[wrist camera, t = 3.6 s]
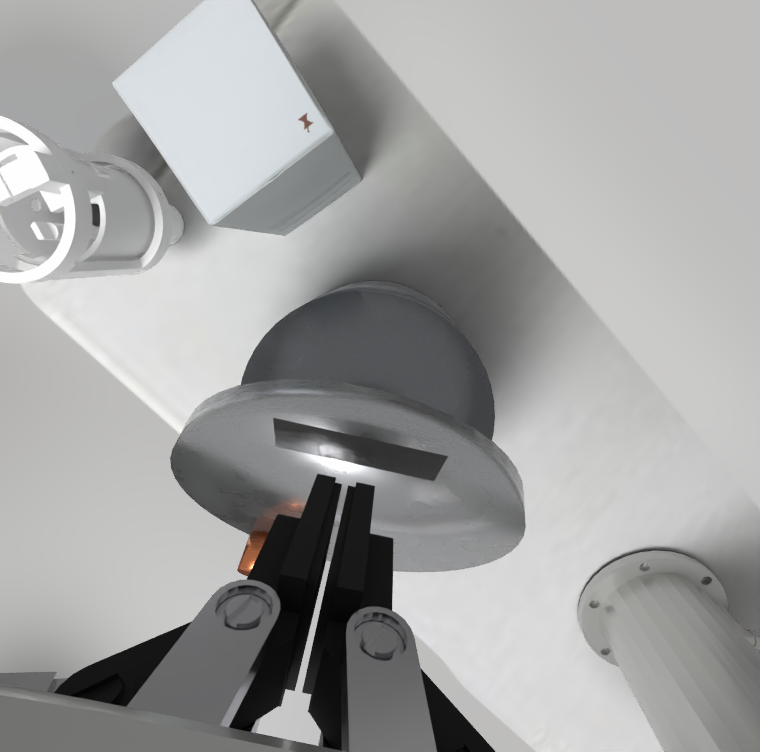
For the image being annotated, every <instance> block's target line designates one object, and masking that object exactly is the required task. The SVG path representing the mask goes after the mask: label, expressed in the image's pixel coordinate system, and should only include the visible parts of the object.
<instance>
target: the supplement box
mask: <svg viewBox="0 0 760 752" xmlns="http://www.w3.org/2000/svg"><path fill="white" fill-rule="evenodd" d="M112 85H113V86H114V88H115V89H116V90H117V92H118V93H119V94H120V96H121V97H122V99H123V100H124V102H125V103H126V105H127V106H128V107H129V109H130V110H131V112H132V113H133V114H134V116H135V117H136V119H137V120H138V121H139V123H140V124H141V126H142V127H143V129H144V130H145V131H146V133H147V134H148V136H149V137H150V139H151V140H152V142H153V143H154V145H155V146H156V148H157V149H158V151H159V152H160V154H161V155H162V157H163V158H164V160H165V161H166V162H167V164H168V165H169V167H170V168H171V170H172V171H173V173H174V174H175V176H176V177H177V179H178V180H179V182H180V183H181V185H182V186H183V188H184V189H185V191H186V192H187V194H188V195H189V197H190V198H191V200H192V201H193V203H194V204H195V206H196V207H197V209H198V210H199V211H200V213H201V214H202V216H203V217H204V219H205V221H206V222H207V223H208V224H209V225H210V226H218V227H226V228H233V229H240V230H248V231H254V232H261V233H269V234H276V235H283V236H285V235H287V234H288V233H290V232H291V231H293V230H294V229H296V228H297V227H299V226H300V225H301V224H303V223H304V222H305V221H307V220H308V219H310V218H311V217H312V216H314V215H315V214H316V213H318V212H319V211H321V210H322V209H323V208H325V207H326V206H327V205H329V204H330V203H331V202H333V201H334V200H336V199H337V198H338V197H340V196H341V195H342V194H344V193H345V192H346V191H348V190H349V189H350V188H352V187H353V186H355V185H356V184H357V183H359V182H360V181H361V177H360V175H359V173H358V171H357V169H356V168H355V166H354V164H353V162H352V160H351V159H350V157H349V155H348V153H347V152H346V150H345V148H344V146H343V145H342V143H341V141H340V139H339V137H338V136H337V134H336V132H335V130H334V128H333V126H332V125H331V123H330V121H329V119H328V118H327V116H326V114H325V113H324V111H323V109H322V107H321V106H320V104H319V102H318V101H317V99H316V97H315V95H314V94H313V92H312V91H311V89H310V87H309V86H308V84H307V82H306V81H305V79H304V77H303V76H302V74H301V73H300V71H299V70H298V68H297V66H296V65H295V63H294V62H293V60H292V58H291V57H290V55H289V54H288V52H287V51H286V49H285V48H284V46H283V45H282V43H281V42H280V40H279V39H278V37H277V36H276V34H275V33H274V31H273V30H272V28H271V27H270V25H269V24H268V22H267V21H266V19H265V18H264V16H263V15H262V13H261V12H260V10H259V8H258V7H257V5H256V4H255V2H254V1H253V0H203V1H202V2H201V3H200V4H198V5H197V6H196V7H195V8H194V9H193V10H192V11H191V12H190V13H189V14H187V15H186V16H185V17H184V18H183V19H182V20H181V21H180V22H179V23H178V24H176V25H175V26H174V27H173V28H172V29H171V30H170V31H169V32H168V33H166V34H165V35H164V36H163V37H162V38H161V39H160V40H159V41H158V42H157V43H155V45H153V46H152V47H151V48H150V49H149V50H148V51H147V52H146V53H144V54H143V55H142V56H141V57H140V58H139V59H138V60H137V61H135V62H134V63H133V64H132V65H131V66H130V67H129V68H128V69H127V70H125V71H124V72H123V73H122V74H121V75H120V76H119V77H118V78H116V79H115V80H114V81H113V83H112Z"/></svg>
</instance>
